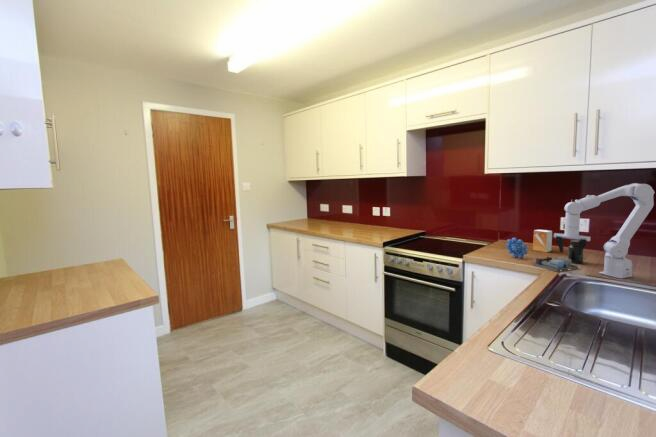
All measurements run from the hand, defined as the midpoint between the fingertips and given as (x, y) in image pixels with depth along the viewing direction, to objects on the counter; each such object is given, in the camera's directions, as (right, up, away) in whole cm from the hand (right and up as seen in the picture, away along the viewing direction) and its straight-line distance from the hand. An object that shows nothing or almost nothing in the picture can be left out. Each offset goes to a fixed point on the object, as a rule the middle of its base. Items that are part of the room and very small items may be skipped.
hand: (570, 253), depth 158 cm
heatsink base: (-1, -8, +10) cm, 13 cm away
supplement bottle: (+15, -7, +16) cm, 23 cm away
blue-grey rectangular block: (-2, -7, +8) cm, 11 cm away
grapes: (-9, -6, +30) cm, 33 cm away
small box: (+16, -3, +44) cm, 47 cm away
